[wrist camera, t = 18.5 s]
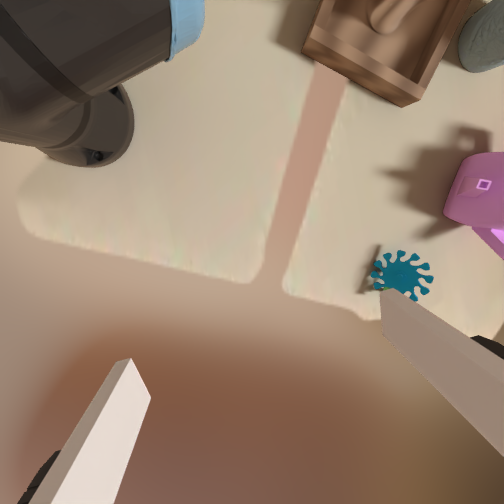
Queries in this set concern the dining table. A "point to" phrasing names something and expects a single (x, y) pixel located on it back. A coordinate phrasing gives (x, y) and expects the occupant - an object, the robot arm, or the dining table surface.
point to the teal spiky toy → (402, 275)
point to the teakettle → (480, 198)
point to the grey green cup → (483, 39)
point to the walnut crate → (384, 46)
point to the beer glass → (389, 13)
